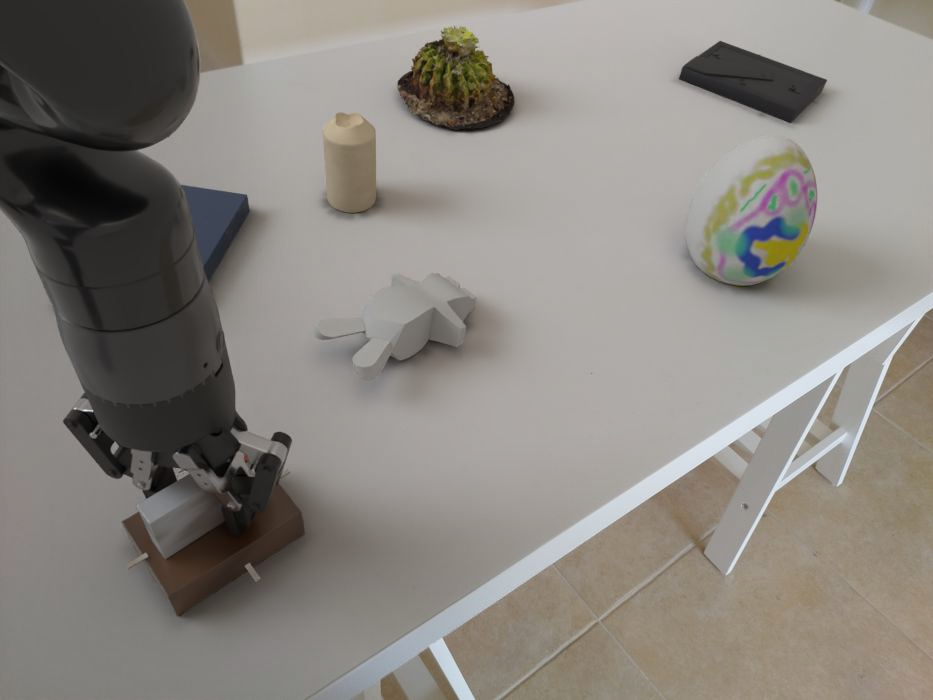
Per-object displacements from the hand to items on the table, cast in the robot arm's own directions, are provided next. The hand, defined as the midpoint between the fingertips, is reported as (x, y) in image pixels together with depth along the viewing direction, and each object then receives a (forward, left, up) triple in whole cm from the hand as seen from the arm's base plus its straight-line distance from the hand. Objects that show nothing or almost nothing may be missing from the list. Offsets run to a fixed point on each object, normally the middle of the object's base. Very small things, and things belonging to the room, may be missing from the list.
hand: (206, 515), depth 51 cm
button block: (+11, +32, -3) cm, 34 cm away
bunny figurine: (+23, +8, -3) cm, 25 cm away
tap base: (0, 0, -3) cm, 3 cm away
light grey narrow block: (0, 0, 0) cm, 1 cm away
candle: (+32, +29, -3) cm, 43 cm away
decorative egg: (+59, -4, -3) cm, 60 cm away
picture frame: (+98, +19, -3) cm, 100 cm away
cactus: (+57, +40, -3) cm, 70 cm away
